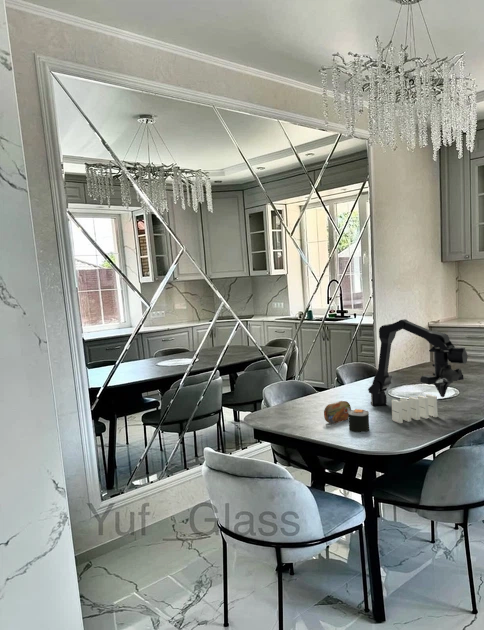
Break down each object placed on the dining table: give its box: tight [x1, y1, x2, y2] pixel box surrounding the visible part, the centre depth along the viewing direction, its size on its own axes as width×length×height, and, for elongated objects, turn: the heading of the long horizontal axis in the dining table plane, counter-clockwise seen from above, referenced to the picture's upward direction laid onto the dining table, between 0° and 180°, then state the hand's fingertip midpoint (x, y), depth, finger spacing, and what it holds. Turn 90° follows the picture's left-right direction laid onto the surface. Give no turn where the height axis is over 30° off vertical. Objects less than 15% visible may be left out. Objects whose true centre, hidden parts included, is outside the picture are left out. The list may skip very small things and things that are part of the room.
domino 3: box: [408, 396, 421, 421], centre depth 209 cm, size 2×5×9 cm, turn 17°
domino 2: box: [399, 397, 412, 423], centre depth 208 cm, size 2×5×9 cm, turn 17°
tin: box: [323, 400, 352, 425], centre depth 213 cm, size 15×3×8 cm, turn 126°
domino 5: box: [425, 393, 438, 418], centre depth 212 cm, size 2×5×9 cm, turn 18°
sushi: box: [348, 408, 370, 433], centre depth 199 cm, size 8×8×8 cm
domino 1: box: [391, 399, 404, 424], centre depth 206 cm, size 2×5×9 cm, turn 18°
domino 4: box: [417, 395, 430, 420], centre depth 211 cm, size 2×5×9 cm, turn 17°
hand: (442, 397), depth 214 cm, fingers closed
